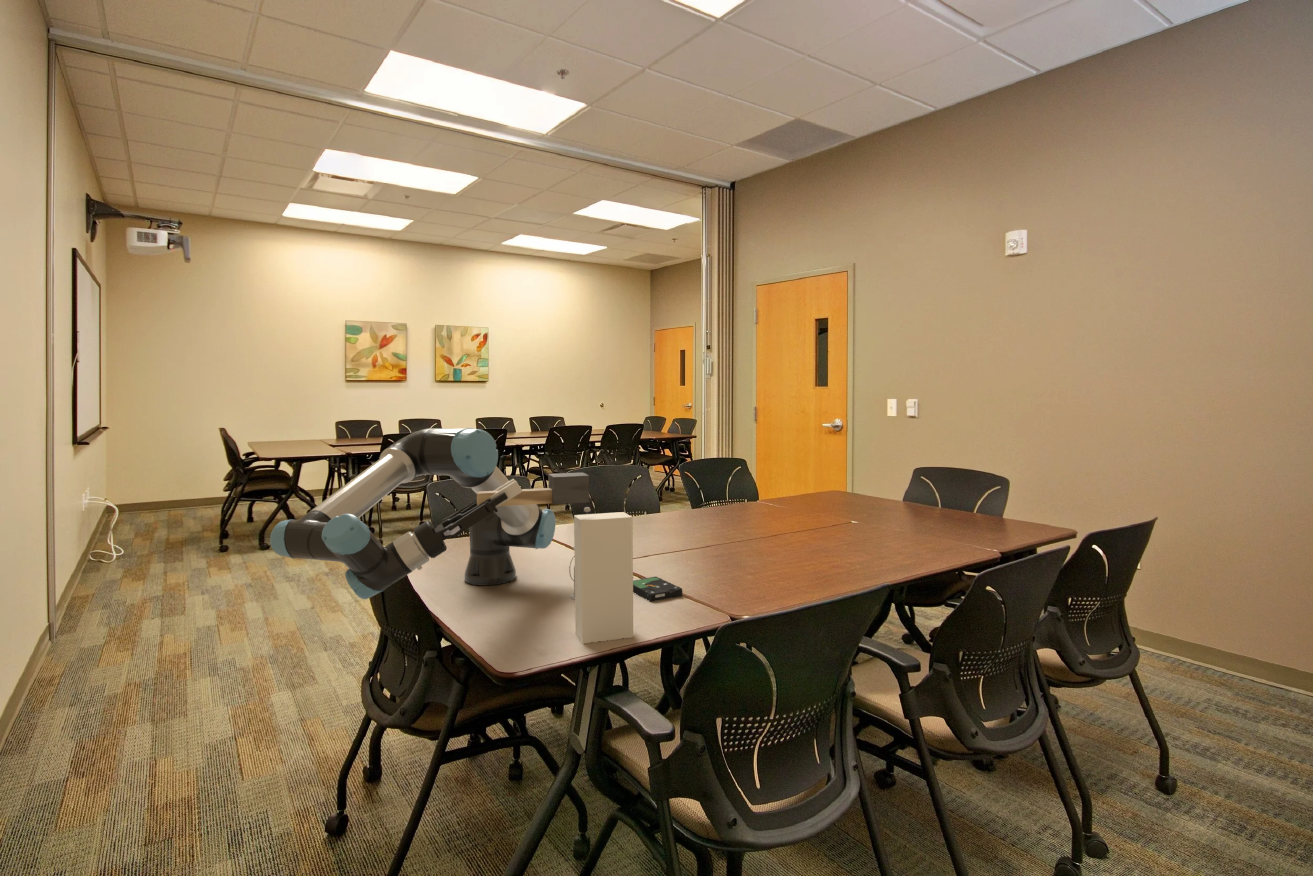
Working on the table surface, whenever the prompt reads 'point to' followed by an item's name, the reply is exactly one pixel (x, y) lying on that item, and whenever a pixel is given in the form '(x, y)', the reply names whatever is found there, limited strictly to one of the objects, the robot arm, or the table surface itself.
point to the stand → (603, 576)
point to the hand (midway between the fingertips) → (517, 485)
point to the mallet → (550, 491)
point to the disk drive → (656, 589)
